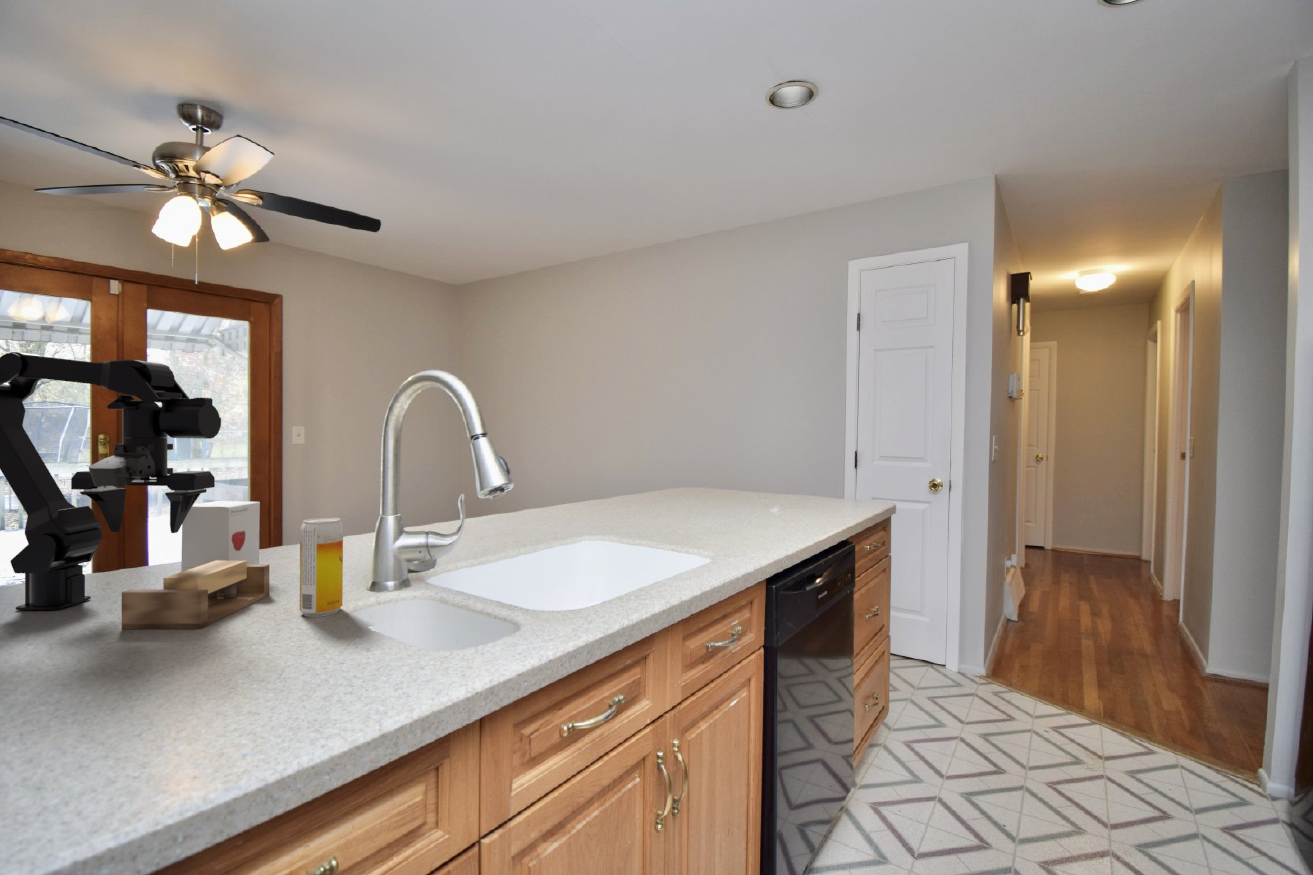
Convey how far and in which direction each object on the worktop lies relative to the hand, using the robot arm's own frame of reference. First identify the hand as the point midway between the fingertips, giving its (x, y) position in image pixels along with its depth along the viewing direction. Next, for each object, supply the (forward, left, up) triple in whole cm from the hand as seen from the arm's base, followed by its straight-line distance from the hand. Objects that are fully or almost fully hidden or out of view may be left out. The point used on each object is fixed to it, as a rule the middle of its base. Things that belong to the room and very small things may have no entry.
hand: (145, 532), depth 101 cm
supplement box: (+3, +15, -12) cm, 20 cm away
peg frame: (+11, -3, -12) cm, 17 cm away
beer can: (+30, -4, -12) cm, 33 cm away
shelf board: (+12, -3, -8) cm, 15 cm away
